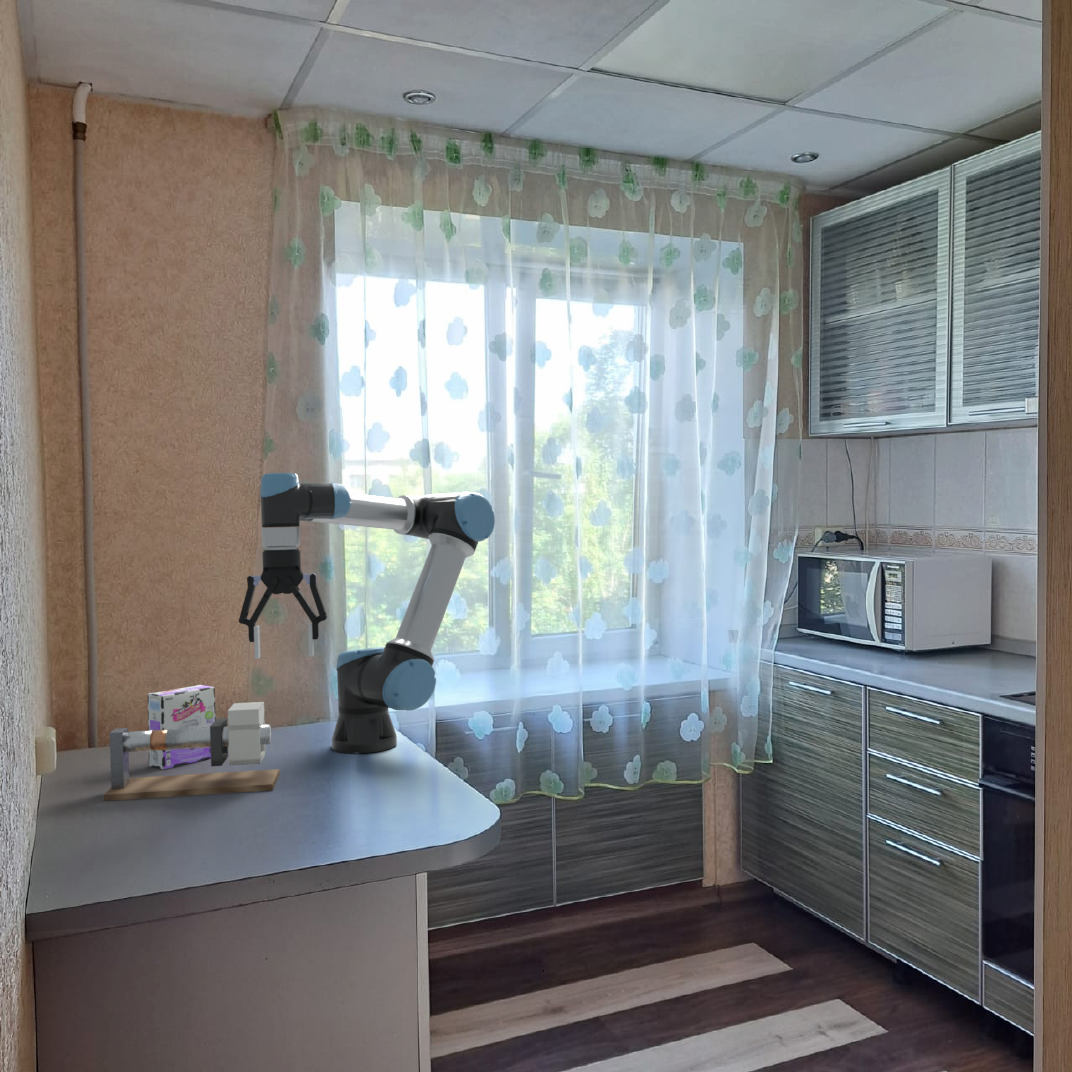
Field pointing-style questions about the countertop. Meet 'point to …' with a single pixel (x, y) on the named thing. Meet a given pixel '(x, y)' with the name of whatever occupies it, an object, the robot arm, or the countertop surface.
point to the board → (195, 784)
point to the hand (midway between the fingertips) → (284, 656)
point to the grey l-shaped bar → (160, 745)
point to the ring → (218, 742)
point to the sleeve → (245, 733)
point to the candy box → (180, 721)
